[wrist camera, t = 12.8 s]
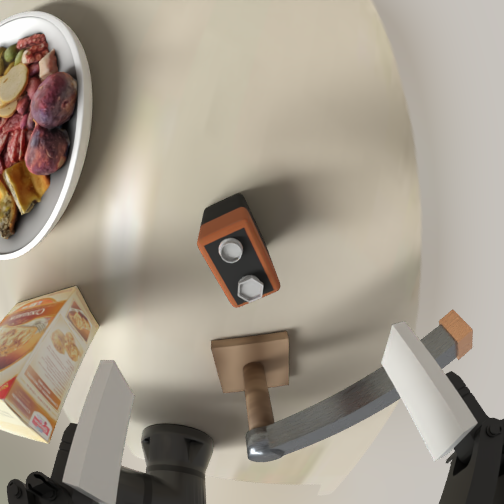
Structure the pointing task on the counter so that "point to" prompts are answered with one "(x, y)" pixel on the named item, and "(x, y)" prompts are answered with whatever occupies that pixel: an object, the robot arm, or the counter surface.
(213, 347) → the arm post
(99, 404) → the robot arm
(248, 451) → the swing arm
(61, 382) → the coffeecake box
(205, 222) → the battery
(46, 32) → the bowl
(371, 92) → the counter surface
